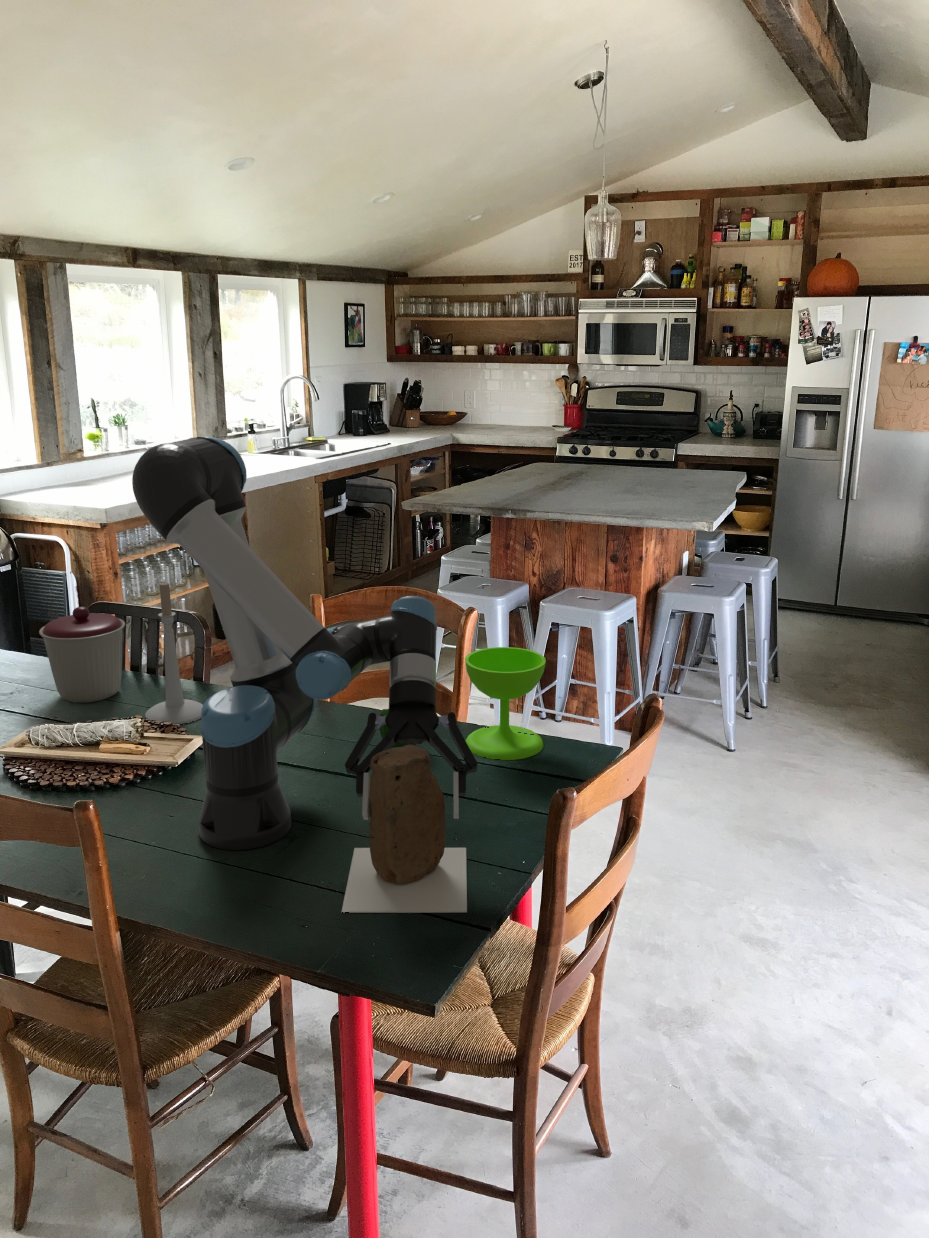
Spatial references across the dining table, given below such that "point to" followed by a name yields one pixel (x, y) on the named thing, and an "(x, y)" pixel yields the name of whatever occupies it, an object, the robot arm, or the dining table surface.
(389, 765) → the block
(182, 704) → the candlestick
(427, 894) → the tile
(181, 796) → the dining table surface
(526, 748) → the wineglass
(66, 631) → the canister
